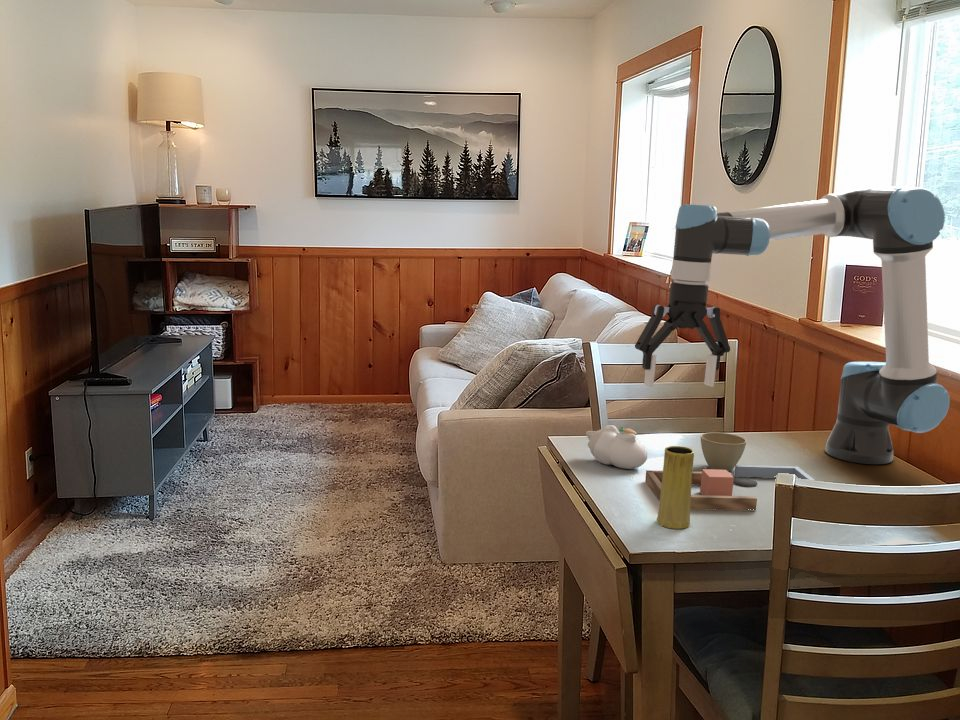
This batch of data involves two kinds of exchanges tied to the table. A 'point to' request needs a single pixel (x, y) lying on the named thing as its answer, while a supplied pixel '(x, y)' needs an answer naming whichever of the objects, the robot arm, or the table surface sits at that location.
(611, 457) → the white rounded lumpy piece
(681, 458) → the vase
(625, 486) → the table surface
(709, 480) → the cube
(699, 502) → the wooden frame
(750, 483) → the hole marker
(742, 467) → the bay
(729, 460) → the beige bowl
